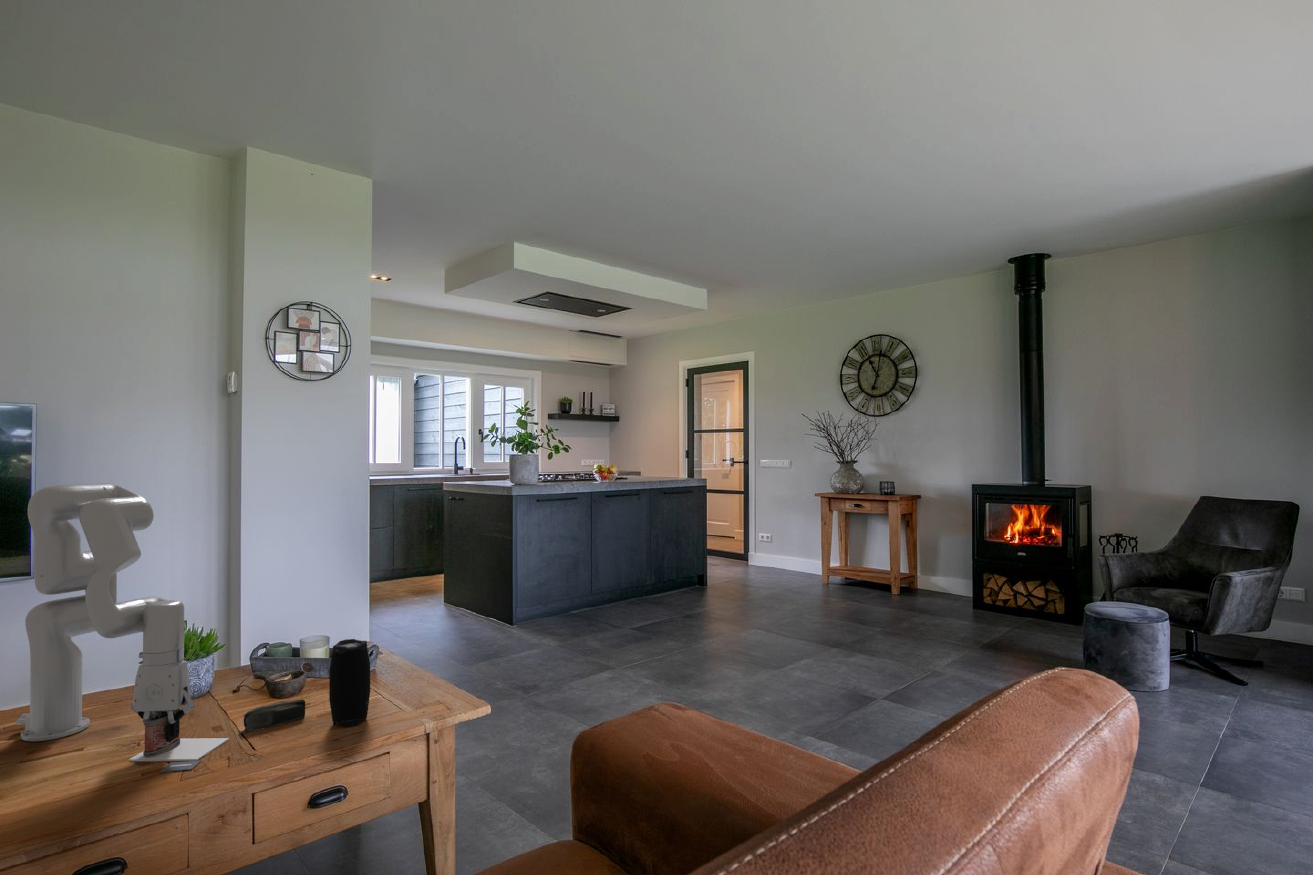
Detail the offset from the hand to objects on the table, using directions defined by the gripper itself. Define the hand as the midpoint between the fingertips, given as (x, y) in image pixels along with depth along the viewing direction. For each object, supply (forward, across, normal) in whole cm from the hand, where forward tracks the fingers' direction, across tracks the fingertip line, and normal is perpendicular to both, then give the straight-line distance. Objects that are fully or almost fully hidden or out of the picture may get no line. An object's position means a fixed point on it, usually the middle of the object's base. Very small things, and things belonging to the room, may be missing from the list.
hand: (162, 738), depth 154 cm
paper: (+3, +4, +1) cm, 5 cm away
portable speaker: (+3, +34, +17) cm, 39 cm away
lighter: (+3, 0, 0) cm, 3 cm away
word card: (+3, +10, -8) cm, 13 cm away
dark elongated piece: (+3, +16, +15) cm, 22 cm away
